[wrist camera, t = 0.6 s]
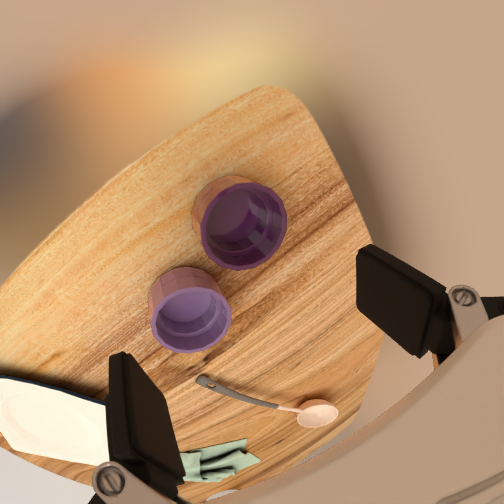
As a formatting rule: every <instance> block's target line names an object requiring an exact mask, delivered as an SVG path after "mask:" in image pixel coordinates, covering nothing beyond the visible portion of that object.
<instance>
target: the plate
mask: <svg viewBox="0 0 504 504" xmlns="http://www.w3.org/2000/svg"><path fill="white" fill-rule="evenodd" d="M0 431H1V433H2V434H3V436H4V437H5V439H6V440H7V442H8V443H9V444H10V446H11V447H12V448H13V449H14V450H17V451H21V452H26V453H30V454H35V455H40V456H46V457H51V458H56V459H61V460H67V461H72V462H78V463H85V464H90V465H96V466H99V465H100V464H101V463H104V462H107V461H109V452H108V442H107V430H106V412H105V402H104V401H102V400H98V399H95V398H91V397H88V396H85V395H81V394H78V393H75V392H72V391H69V390H66V389H63V388H60V387H55V386H51V385H47V384H43V383H39V382H35V381H30V380H26V379H21V378H17V377H12V376H3V375H0Z"/></svg>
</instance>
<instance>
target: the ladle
mask: <svg viewBox="0 0 504 504" xmlns="http://www.w3.org/2000/svg"><path fill="white" fill-rule="evenodd" d="M196 383H197V384H199V385H201V386H203V387H206V388H208V389H210V390H212V391H215V392H218V393H221V394H224V395H227V396H230V397H233V398H236V399H239V400H242V401H245V402H248V403H252V404H256V405H260V406H264V407H269V408H274V409H281V410H287V411H293V412H297V413H296V417H297V421H298V423H299V424H300V425H301V426H304V427H310V428H315V427H321V426H325V425H327V424H329V423H331V422H332V421H334V420H335V419H336V418H337V416H338V409H337V408H336V407H335V406H334V405H333V404H332V403H330V402H328V401H326V400H322V399H312V400H308V401H306V402H304V403H303V404H301V405H300V406H299V408H293V407H287V406H282V405H278V404H274V403H270V402H266V401H262V400H259V399H255V398H252V397H249V396H246V395H243V394H241V393H238V392H236V391H234V390H232V389H230V388H228V387H226V386H224V385H222V384H220V383H218V382H216V381H213V380H212V379H210V378H208V377H205V376H203V375H200V376H199V377H198V378H197V379H196ZM207 383H214V384H215V385H216V386H214V387H210V386H208V385H207Z"/></svg>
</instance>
